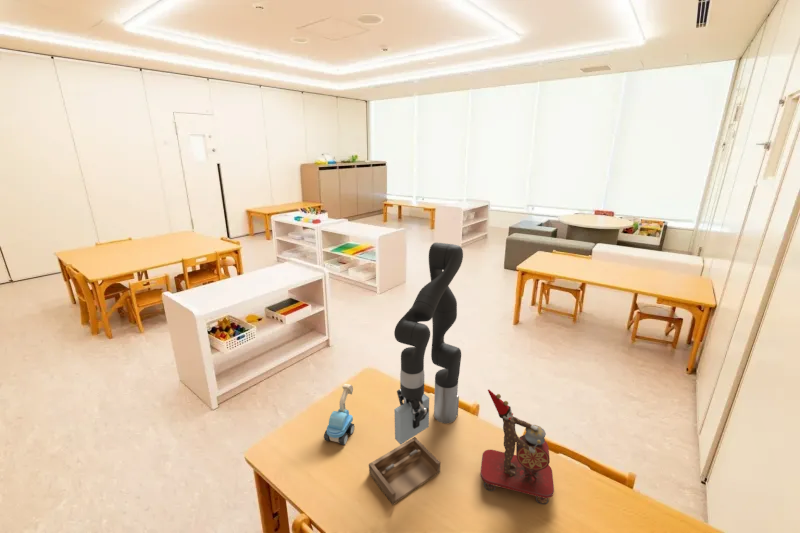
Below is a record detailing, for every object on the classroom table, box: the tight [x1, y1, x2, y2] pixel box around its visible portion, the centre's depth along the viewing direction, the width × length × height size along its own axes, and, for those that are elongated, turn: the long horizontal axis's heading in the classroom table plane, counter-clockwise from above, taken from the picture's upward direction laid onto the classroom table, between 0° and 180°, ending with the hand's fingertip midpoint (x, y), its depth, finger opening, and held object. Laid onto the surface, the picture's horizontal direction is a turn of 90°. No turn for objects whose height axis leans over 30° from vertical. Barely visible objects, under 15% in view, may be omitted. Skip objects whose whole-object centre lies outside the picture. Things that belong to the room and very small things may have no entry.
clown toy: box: [479, 389, 555, 505], centre depth 115 cm, size 13×23×35 cm, turn 73°
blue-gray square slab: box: [394, 393, 430, 445], centre depth 117 cm, size 12×3×12 cm, turn 128°
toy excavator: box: [323, 383, 355, 446], centre depth 140 cm, size 9×17×17 cm, turn 161°
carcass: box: [368, 436, 441, 506], centre depth 124 cm, size 20×14×5 cm
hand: (412, 423), depth 118 cm, fingers closed on blue-gray square slab, 3 cm apart
